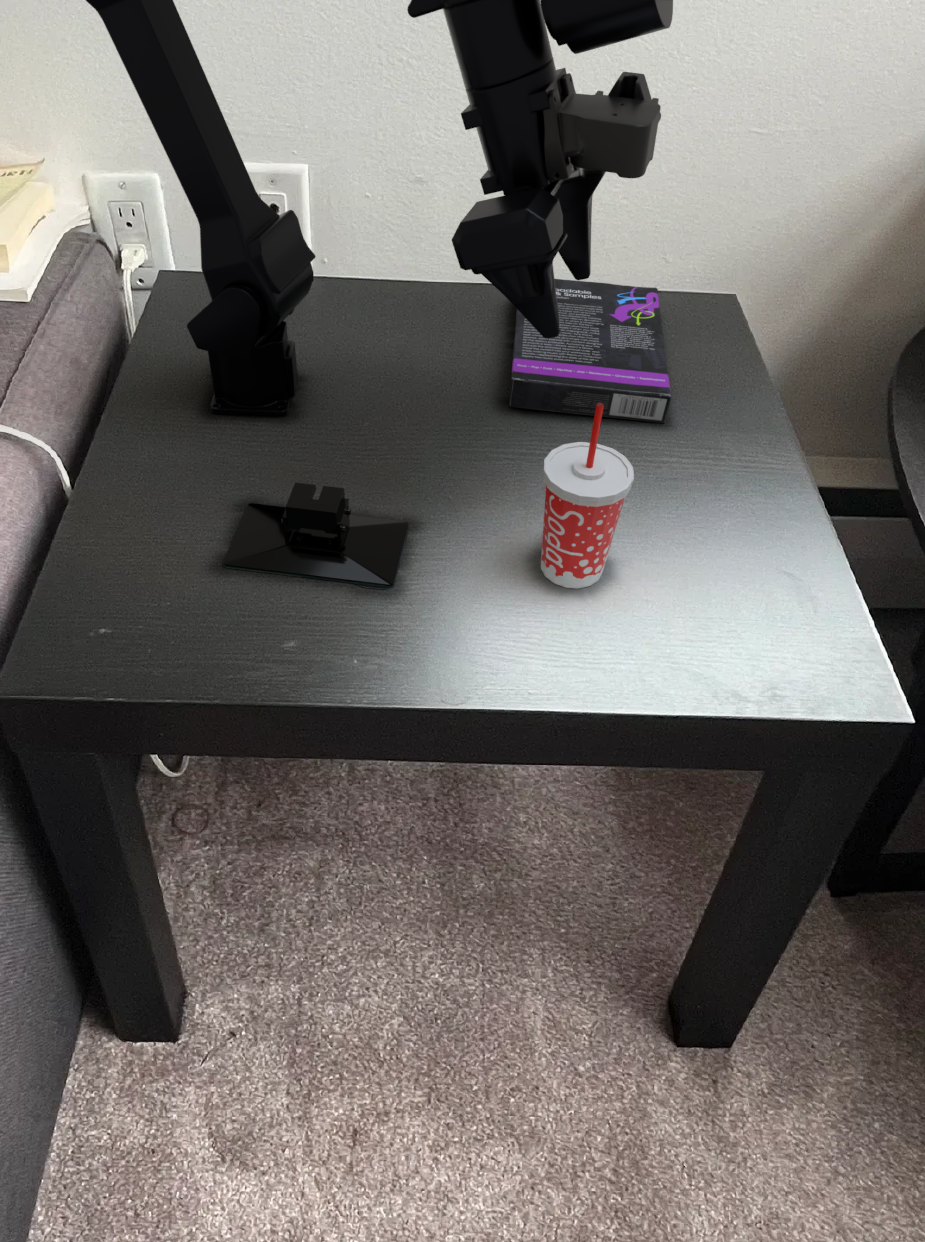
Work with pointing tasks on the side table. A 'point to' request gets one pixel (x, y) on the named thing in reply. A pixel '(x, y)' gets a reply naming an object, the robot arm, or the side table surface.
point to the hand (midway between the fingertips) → (568, 306)
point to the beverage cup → (582, 508)
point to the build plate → (318, 540)
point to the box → (595, 355)
